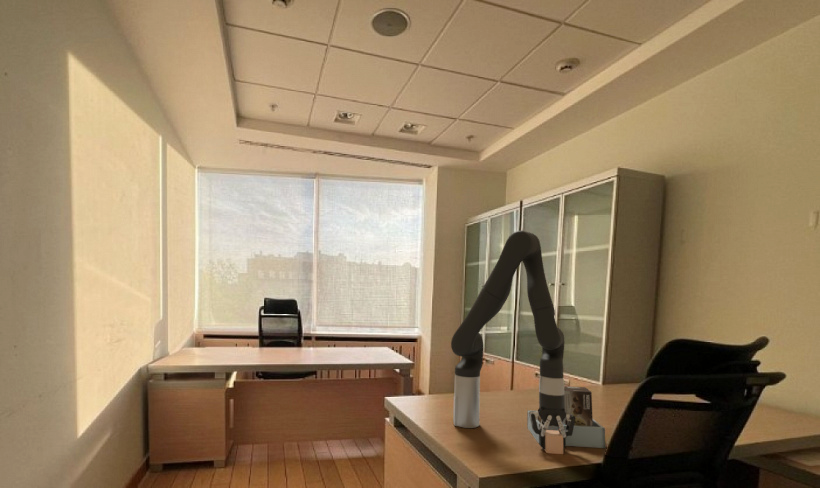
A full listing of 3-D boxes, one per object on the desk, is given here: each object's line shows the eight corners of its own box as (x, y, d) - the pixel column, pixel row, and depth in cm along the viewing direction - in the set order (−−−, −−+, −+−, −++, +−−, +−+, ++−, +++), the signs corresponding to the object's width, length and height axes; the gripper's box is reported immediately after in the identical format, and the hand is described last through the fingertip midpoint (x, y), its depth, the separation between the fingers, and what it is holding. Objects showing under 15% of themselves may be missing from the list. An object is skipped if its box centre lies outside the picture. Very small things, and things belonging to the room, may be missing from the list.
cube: (546, 452, 113) (546, 435, 113) (541, 446, 118) (541, 429, 118) (563, 454, 112) (563, 436, 113) (557, 447, 117) (557, 430, 118)
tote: (539, 443, 119) (538, 424, 120) (527, 427, 134) (527, 410, 135) (605, 448, 118) (604, 428, 119) (586, 431, 133) (585, 413, 133)
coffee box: (586, 435, 128) (585, 386, 131) (594, 443, 122) (592, 391, 124) (559, 433, 129) (558, 385, 131) (565, 440, 123) (564, 389, 125)
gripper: (531, 393, 114) (531, 452, 112) (579, 395, 113) (581, 455, 111) (525, 387, 121) (525, 442, 119) (570, 389, 121) (571, 445, 118)
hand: (552, 448), depth 115 cm, fingers closed on cube, 5 cm apart
